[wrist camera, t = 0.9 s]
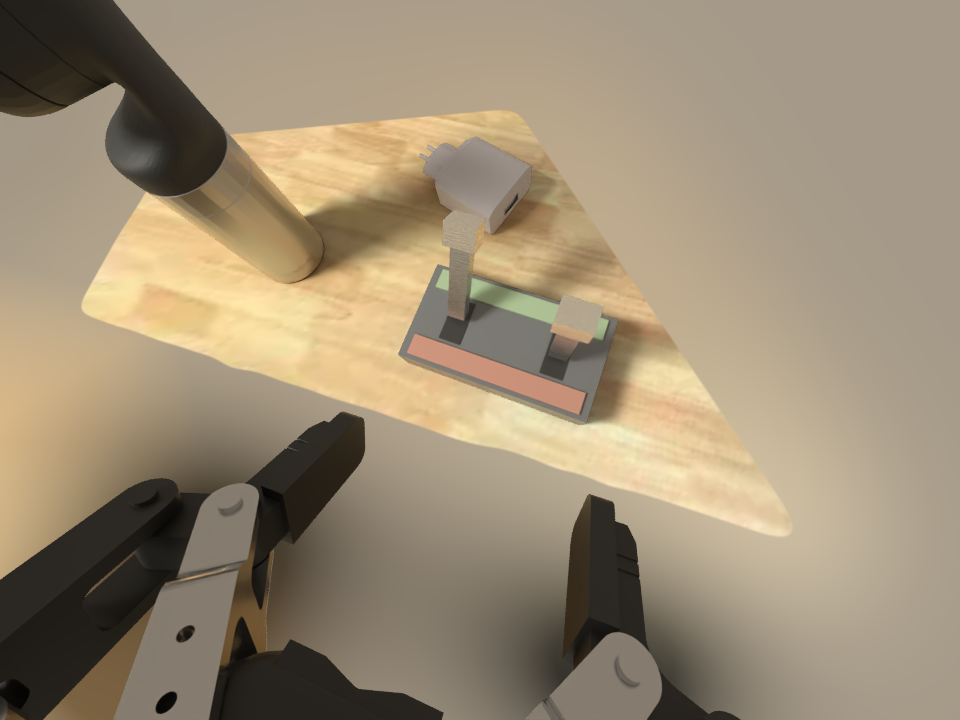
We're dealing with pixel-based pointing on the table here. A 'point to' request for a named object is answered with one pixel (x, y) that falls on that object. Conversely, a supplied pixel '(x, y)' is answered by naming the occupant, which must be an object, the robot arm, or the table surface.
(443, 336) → the switch box
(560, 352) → the switch lever
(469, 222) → the lever on
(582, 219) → the table surface
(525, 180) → the charger
